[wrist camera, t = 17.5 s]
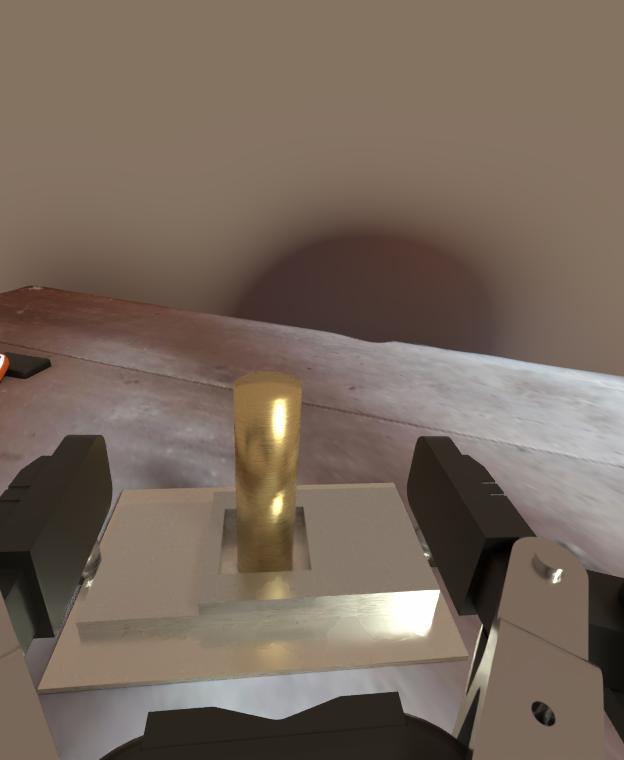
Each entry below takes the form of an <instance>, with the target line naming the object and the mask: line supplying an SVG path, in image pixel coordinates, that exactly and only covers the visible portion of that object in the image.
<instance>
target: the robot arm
mask: <svg viewBox="0 0 624 760" xmlns="http://www.w3.org/2000/svg"><path fill="white" fill-rule="evenodd" d="M8 487H9V488H8V490H5V491H4V493H3V494H2V495H1V497H0V760H60V758H59V755H58V752H57V749H56V747H55V744H54V741H53V738H52V735H51V732H50V730H49V727H48V724H47V721H46V718H45V715H44V713H43V710H42V707H41V704H40V701H39V698H38V696H37V693H36V690H35V687H34V684H33V682H32V679H31V676H30V673H29V670H28V667H27V665H26V662H25V659H24V657H25V654H26V652H27V650H28V648H29V646H30V644H31V642H32V640H33V638H50V637H55V636H56V633H57V631H58V629H59V626H60V624H61V622H62V619H63V617H64V615H65V612H66V610H67V608H68V605H69V603H70V601H71V598H72V596H73V594H74V591H75V589H76V587H77V584H78V582H79V580H80V577H81V575H82V573H83V570H84V568H85V566H86V563H87V561H88V559H89V556H90V554H91V552H92V549H93V547H94V545H95V542H96V540H97V538H98V535H99V533H100V531H101V528H102V526H103V524H104V521H105V519H106V517H107V514H108V512H109V509H110V506H111V500H112V481H111V475H110V468H109V462H108V456H107V450H106V444H105V440H104V437H103V436H102V435H67V436H66V437H65V438H64V439H63V440H62V442H61V443H60V445H59V446H58V448H57V449H56V450H55V452H54V453H53V455H52V456H41V457H39V458H38V459H36V460H35V461H33V462H32V463H30V464H29V465H27V466H26V467H25V468H23V469H22V470H21V471H20V472H19V473H18V475H17V476H16V477H15V478H14V480H13V481H12V482H11V484H10V485H9V486H8ZM407 496H408V501H409V505H410V507H411V509H412V512H413V514H414V516H415V518H416V521H417V523H418V525H419V527H420V530H421V532H422V534H423V536H424V538H425V541H426V543H427V545H428V547H429V550H430V552H431V554H432V556H433V559H434V561H435V563H436V565H437V568H438V570H439V572H440V574H441V576H442V579H443V581H444V583H445V585H446V588H447V590H448V592H449V594H450V597H451V599H452V601H453V603H454V606H455V608H456V610H457V612H458V614H459V616H462V615H478V616H479V618H480V620H481V622H482V627H481V629H480V632H479V635H478V639H477V643H476V647H475V651H474V655H473V659H472V663H471V667H470V671H469V675H468V679H467V683H466V687H465V691H464V695H463V699H462V703H461V706H460V710H459V713H458V717H457V720H456V723H455V726H454V729H453V732H452V735H450V734H449V733H447V732H446V731H444V730H443V729H441V728H440V727H438V726H436V725H434V724H432V723H430V722H428V721H426V720H424V719H421V718H419V717H416V716H413V715H410V714H406V713H404V712H403V708H402V705H401V701H400V697H399V693H398V692H387V693H375V694H363V695H350V696H340V697H337V698H335V699H332V700H330V701H327V702H325V703H322V704H320V705H317V706H315V707H312V708H310V709H307V710H305V711H302V712H300V713H297V714H295V715H292V716H290V717H287V718H285V719H281V720H273V719H268V718H263V717H259V716H254V715H249V714H245V713H240V712H236V711H231V710H226V709H222V708H217V707H204V708H191V709H179V710H167V711H155V712H148V717H147V722H146V727H145V732H144V735H143V736H140V737H138V738H135V739H133V740H131V741H129V742H127V743H125V744H123V745H121V746H119V747H117V748H116V749H114V750H113V751H111V752H110V753H108V754H107V755H105V756H104V757H102V758H100V759H99V760H605V739H604V710H605V712H606V714H607V715H608V717H609V719H610V720H611V722H612V724H613V726H614V727H615V729H616V731H617V732H618V734H619V736H620V738H621V739H622V741H623V743H624V578H620V577H616V576H612V575H607V574H603V573H599V572H594V571H590V570H586V569H585V568H584V566H583V565H582V564H581V562H580V561H579V560H578V559H577V558H576V557H575V556H574V555H573V554H572V553H571V552H569V551H568V550H566V549H565V548H563V547H562V546H560V545H558V544H556V543H554V542H552V541H549V540H546V539H543V538H538V537H537V536H536V535H535V534H534V532H533V531H532V530H531V528H530V527H529V526H528V524H527V523H526V522H525V520H524V519H523V518H522V516H521V515H520V514H519V512H518V511H517V510H516V508H515V507H514V506H513V504H512V503H511V502H510V500H509V499H508V498H507V496H504V492H503V491H502V490H501V488H500V487H499V486H498V484H495V480H494V479H493V478H492V476H491V475H490V474H489V472H488V471H487V470H486V468H485V467H484V466H482V465H481V464H480V463H478V462H477V461H476V460H474V459H473V458H471V457H470V456H469V455H462V454H461V452H460V451H459V450H458V448H457V447H456V445H455V444H454V443H453V441H452V440H451V439H450V438H449V437H447V436H421V437H419V438H418V440H417V442H416V446H415V451H414V455H413V460H412V464H411V469H410V473H409V478H408V483H407Z"/></svg>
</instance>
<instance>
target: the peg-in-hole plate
mask: <svg viewBox="0 0 624 760" xmlns="http://www.w3.org/2000/svg"><path fill="white" fill-rule="evenodd" d="M436 566H437V565H436V563H435V561H434V559H433V556H432V554H431V552H430V550H429V547H428V545H427V543H426V541H425V538H424V536H423V534H422V532H421V530H420V527H419V526H418V528H417V532H416V533H415V531H414V528H413V526H412V524H411V521H410V519H409V517H408V514H407V512H406V510H405V508H404V505H403V503H402V501H401V498H400V496H399V494H398V491H397V489H396V487H395V484H394V483H370V484H330V485H297V489H296V507H295V526H294V545H293V561H292V565H291V568H290V569H289V571H282V572H262V573H241V571H240V570H239V567H238V564H237V525H236V487H212V488H173V489H134V490H123V492H122V494H121V497H120V499H119V501H118V503H117V506H116V508H115V510H114V513H113V515H112V517H111V520H110V522H109V524H108V527H107V529H106V531H105V534H104V536H103V538H102V541H101V543H100V545H99V543H98V540H96V542H95V545H94V547H93V549H92V552H91V554H90V556H89V559H88V561H87V563H86V566H85V568H84V570H83V573H82V575H81V577H80V580H79V582H78V584H77V585H81V584H83V585H82V587H81V589H80V592H79V594H78V596H77V599H76V601H75V603H74V606H73V608H72V610H71V612H70V615H69V617H68V619H67V622H66V624H65V626H64V629H63V631H62V633H61V636H60V638H59V640H58V643H57V645H56V647H55V650H54V652H53V654H52V657H51V659H50V661H49V663H48V666H47V668H46V670H45V673H44V675H43V677H42V680H41V682H40V684H39V687H38V689H37V690H38V693H39V694H45V693H58V692H71V691H83V690H96V689H108V688H121V687H134V686H146V685H159V684H171V683H184V682H197V681H209V680H222V679H235V678H247V677H260V676H272V675H285V674H298V673H310V672H323V671H335V670H348V669H361V668H373V667H386V666H398V665H411V664H424V663H436V662H449V661H462V660H468V657H469V655H468V653H467V650H466V648H465V646H464V644H463V641H462V639H461V637H460V634H459V632H458V630H457V627H456V625H455V623H454V620H453V618H452V616H451V614H450V611H449V609H448V607H447V604H446V602H445V600H444V597H443V595H442V593H441V591H440V588H439V586H438V584H437V581H436V579H435V577H434V574H433V572H432V570H431V567H436Z"/></svg>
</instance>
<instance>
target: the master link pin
mask: <svg viewBox="0 0 624 760" xmlns="http://www.w3.org/2000/svg"><path fill="white" fill-rule="evenodd" d="M301 396H302V384H301V382H300V381H299V380H298V379H296V378H295V377H293V376H291V375H288V374H284V373H280V372H271V371H263V372H254V373H249V374H246V375H244V376H241V377H240V378H238V379H237V380H236V381H235V382H234V430H235V478H236V525H237V564H238V567H239V570H240V571H241V573H262V572H282V571H289V569H290V568H291V565H292V561H293V545H294V526H295V507H296V489H297V470H298V452H299V433H300V415H301Z"/></svg>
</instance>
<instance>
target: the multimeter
mask: <svg viewBox="0 0 624 760" xmlns="http://www.w3.org/2000/svg"><path fill="white" fill-rule="evenodd" d="M49 367H51V362H50V360H49V359H47V358H40V357H32V356H26V355H20V354H15V353H9V352H6V353H2V354H0V382H1V380H2V378H3V376H9V377H15V378H20V379H27V378H29V377H31V376H33V375H35V374H37V373H39V372H41V371H43V370H45V369H47V368H49Z"/></svg>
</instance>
